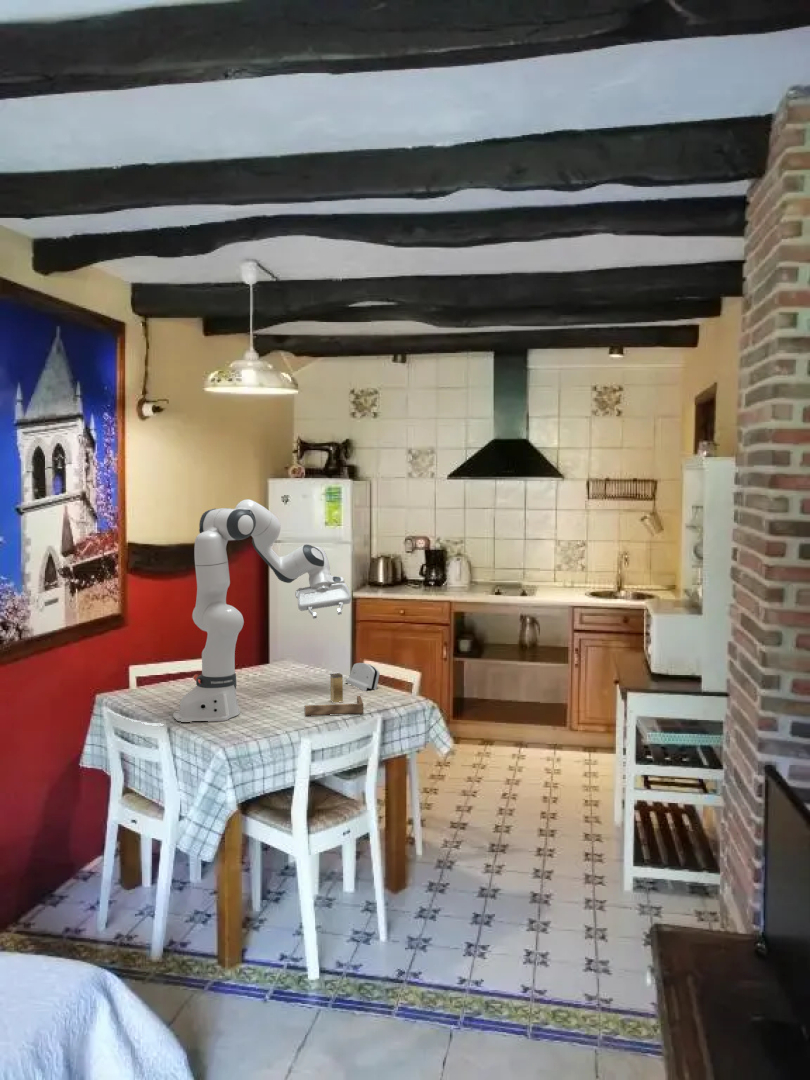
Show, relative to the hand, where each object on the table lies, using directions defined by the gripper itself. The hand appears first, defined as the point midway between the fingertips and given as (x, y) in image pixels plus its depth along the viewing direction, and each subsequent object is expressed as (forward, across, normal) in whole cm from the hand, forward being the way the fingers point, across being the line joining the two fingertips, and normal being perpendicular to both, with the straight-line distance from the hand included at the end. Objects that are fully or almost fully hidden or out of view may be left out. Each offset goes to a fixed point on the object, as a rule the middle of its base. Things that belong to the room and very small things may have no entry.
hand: (327, 615), depth 325 cm
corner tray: (+37, -4, +3) cm, 37 cm away
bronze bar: (+29, -2, +13) cm, 32 cm away
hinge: (+16, +11, +31) cm, 37 cm away
